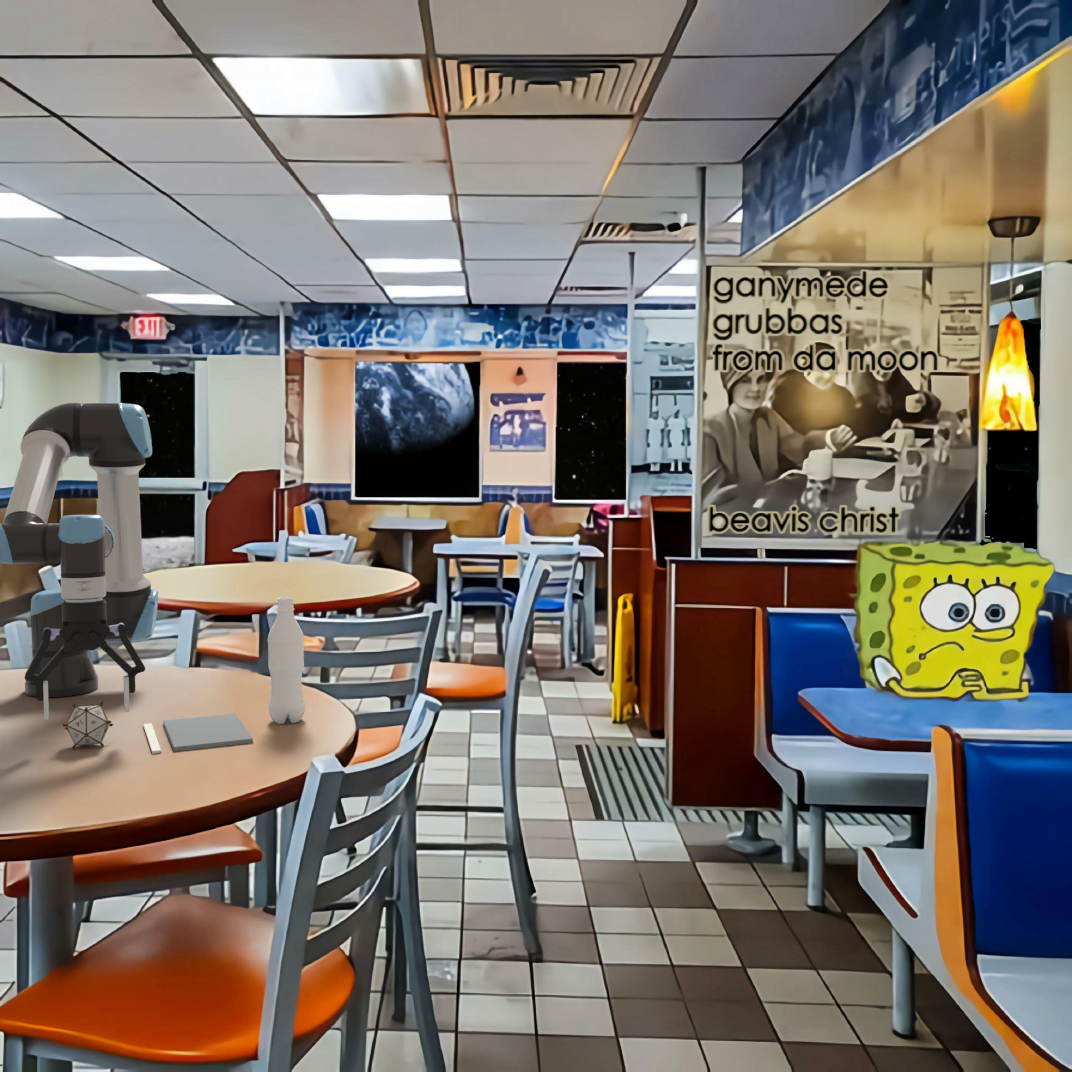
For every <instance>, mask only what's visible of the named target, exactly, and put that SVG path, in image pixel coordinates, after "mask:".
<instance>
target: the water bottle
mask: <svg viewBox="0 0 1072 1072" xmlns="http://www.w3.org/2000/svg"><path fill="white" fill-rule="evenodd" d="M294 607H295V606H294V598H293V597H290V596H289V597H285V596H284V597H278V598H277V606H276V611H277V613H276V618H275V620H274V622H273V624H272V626H271V628H270V631H269V632H268V636H267V643H268V644H267V646H268V647H267V654H268V655H267V656H268V658H267V659H268V661H267V662H268V663H267V664H268V665H267V666H268V670H269V674H270V681H271V682H270V683H271V684H270V685H271V688H270V689H271V690H270V699H269V703H268V714H269V717H270V718H271V720H272V721H273V722H275V723H277V724H279V725H284V724H285V722H286V720H287V719H289V721H290V723H292V724H296V722H297V723H298V722H300V720H302V718H303V716H304V714H305V711H306V703H305V700H304V695H303V694H304V693H303V685H302V679H303V670H304V668H305V659H304V658H305V649H304V647H305V646H304V641H305V636H304V632H303V631H302V629H301V628H302V627H300V624H299V623H298V621H297V619H296V617H295V613H294V611H295V608H294Z"/></svg>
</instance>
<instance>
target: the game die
mask: <svg viewBox="0 0 1072 1072" xmlns="http://www.w3.org/2000/svg"><path fill="white" fill-rule="evenodd" d="M103 705H104V700H103V701H101V702H100V703H99V704H96V705H82V706H81V705H79V706H78V705H76V703H73V702H72V707H74V708H73V710H72V712H71V714H70V715H69V718H68V720H67V722H66V723H63V724H61V726H62V727H63V728H64V727H65V728H64V729H65V730H66V731H68V733H69V736H70V738H71V740H72V743H73V746H72V749H73V750H75V749H76V747H77V746H87V745H100V746H101V747H102V748H103V747H104V743H103V740H104V738H105V736H106V734H107V732H108V729H109V728H110V727H113V726H114V723H113V722H112V721H111V720H108V717H107V715H106V712H105V711H104V709H103Z"/></svg>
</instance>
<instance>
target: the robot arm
mask: <svg viewBox="0 0 1072 1072" xmlns="http://www.w3.org/2000/svg"><path fill="white" fill-rule="evenodd" d="M152 443H153V442H152V434H151V429H150V424H149V420H148V416H147V414H146V412H145V409H144V407H142V406H140V405H139V404H134V403H123V402H99V403H98V402H97V403H96V402H93V403H92V402H90V403H89V402H87V403H85V402H84V403H83V402H82V403H81V402H68V403H62V404H58V405H57V406H53V407H52V408H50V409H48V410H46V411H45V412H43V413H42V414H40V415H39V416H37V418H35V419H34V421H32V423H31V424H30V425H29V426H28V428H27V429H26V430H25V432H24V433H23V436H22V438H21V443H20V452H21V455H22V457H21V460H20V464H19V468H18V470H17V473H16V477H15V481H14V484H13V488H12V491H11V494H10V497H9V501H8V504H7V508H6V511H5V514H4V517H3V520H2V523H1V522H0V564H5V565H6V564H7V565H19V564H20V565H22V564H23V565H24V564H27V565H28V564H49V563H50V564H60V587H54V588H51V589H47V590H42V591H39V592H37V593H35V594H34V595H33V596H32V598H30V599H31V601H30V613H29V617H30V625H31V626H30V629H31V649H32V650H31V651H32V652H31V653H32V659H31V662H30V664H29V666H28V668H27V670H26V672H25V674H24V679H25V682H24V693H25V695H27V696H30V697H34V698H36V700H37V701H38V702H43V719H44V720H43V721H45V720H50V713H49V712H50V709H49V707H50V706H49V704H50V703H49V698H60V697H62V698H63V697H71V696H77V695H83V694H87V693H90V692H93V691H95V690H97V689H98V688H99V676H98V674H97V672H96V669H95V666H94V664H93V661H92V658H91V656H90V651H95V650H97V649H98V648H100V650H102V651H103V652H104V653H106V654H107V655H108V657H110V658H111V659H112V660H113V662H115V663H116V664H117V665H118V666H119V668H121V670H123V672H125V673H126V674H123V703H124V704H123V706H124V713H129V712H131V711H130V694H134V693H135V692H136V676H137V675H138V674H140V673H144V672H145V671H146V666H145V664H144V663H143V660H141V658H140V655H138V653H137V651H136V649H135V648H134V646H133V644H132V643H133V642H142V641H143V642H144V641H148V640H150V639H151V638H152V637H153V634H154V632H155V627H156V620H157V614H158V607H159V605H158V604H159V592H158V590H156V589H154V588H153V589H152V588H151V587H152V586H151V583H152V582H151V580H149V579H148V578H147V577H146V576H144V566H143V565H144V564H143V544H142V541H143V540H142V522H141V521H142V519H141V499H140V482H139V481H140V478H139V477H140V476H139V473H140V471H141V470H142V468H144V466H145V465H146V458H150V457H151V456H152V454H153V446H152ZM72 457H80V458H81V457H85V458H87V457H88V466H89V467H90V468H91V469H92V470H94V471H95V473H96V478H97V479H96V480H97V498H98V499H97V500H98V512H99V513H98V514H69V515H63V516H61V518H60V519H59V522H58V523H57V522H56V523H55V522H54V523H49V522H48V520H49V516H50V512H51V509H52V504H53V501H54V496H55V492H56V489H57V486H58V481H59V477H60V474H61V470H62V466H63V465H65V464H66V463H67V462H68V460H69V459H70V458H72ZM109 643H122V645H123V647H124V648H125V650H126V651H127V653H128V654H129V657H130V658H131V660H132V661H133V663H134V664H135V666H132V665H130V663H128V661H126V659H124V658H123V657H122V656H121V654H119V652H117V651H116V650H115V649H114V648H113V647H112V646H111V645H110V644H109Z"/></svg>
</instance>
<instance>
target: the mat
mask: <svg viewBox="0 0 1072 1072" xmlns="http://www.w3.org/2000/svg"><path fill="white" fill-rule="evenodd" d="M163 727H164V730H165V731H166V734H167V737H168V740H169V742H170V744H171V747H172V749H173V752H181V751H190V750H199V749H200V750H201V749H208V748H209V749H210V748H217V747H226V746H234V745H235V746H236V745H243V744H244V745H245V744H253V743H254V739H253V738H254V737H252V735H251V733H250V732H249V731H248V729H247V728H246V726H245V725H244V723H243V722H242V721H241V719H240V717H239V716H238V714H237V713H228V714H217V715H207V716H198V717H187V718H179V719H178V718H177V719H168V720H167V719H166V720H163Z"/></svg>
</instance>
